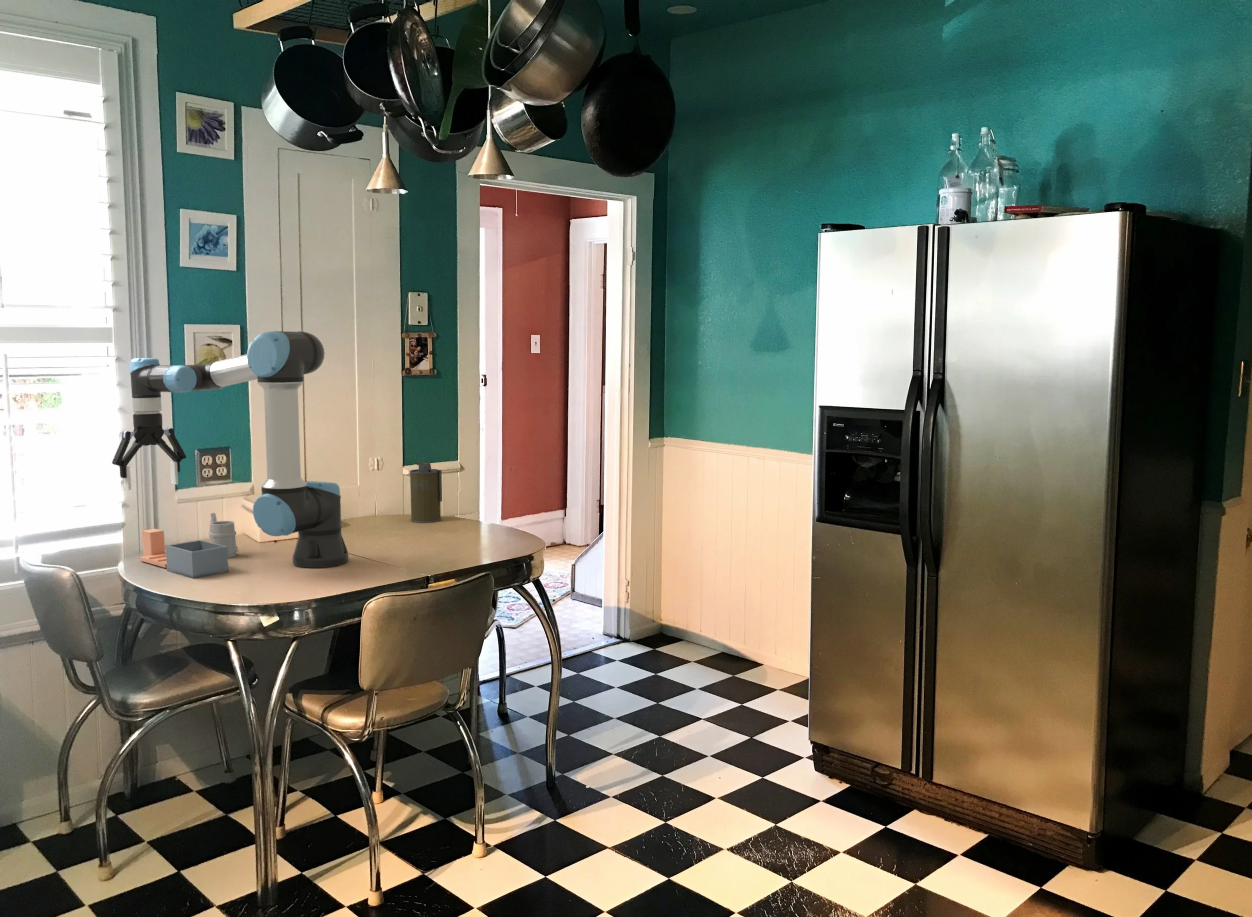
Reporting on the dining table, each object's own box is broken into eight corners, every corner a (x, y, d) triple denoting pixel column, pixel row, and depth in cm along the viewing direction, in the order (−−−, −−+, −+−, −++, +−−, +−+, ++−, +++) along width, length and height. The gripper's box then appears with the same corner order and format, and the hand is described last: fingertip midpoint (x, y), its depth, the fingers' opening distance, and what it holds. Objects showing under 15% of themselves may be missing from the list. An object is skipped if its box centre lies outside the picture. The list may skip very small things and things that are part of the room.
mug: (217, 560, 297) (215, 518, 295) (198, 554, 305) (196, 513, 303) (242, 556, 302) (240, 515, 301) (224, 550, 310) (222, 510, 309)
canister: (406, 522, 357) (404, 464, 354) (417, 517, 367) (415, 460, 364) (436, 523, 355) (435, 465, 352) (446, 518, 365) (445, 461, 363)
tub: (228, 571, 282) (227, 546, 281) (193, 578, 274) (191, 552, 273) (202, 564, 291) (200, 539, 290) (167, 570, 283) (165, 545, 282)
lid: (202, 562, 293) (200, 535, 293) (165, 569, 285) (163, 540, 284) (167, 553, 306) (166, 527, 305) (131, 559, 298) (130, 532, 297)
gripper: (183, 409, 307) (186, 480, 310) (96, 414, 288) (100, 490, 290) (196, 410, 302) (199, 483, 305) (108, 415, 283) (113, 492, 286)
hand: (151, 486), depth 298 cm, fingers open, 13 cm apart
